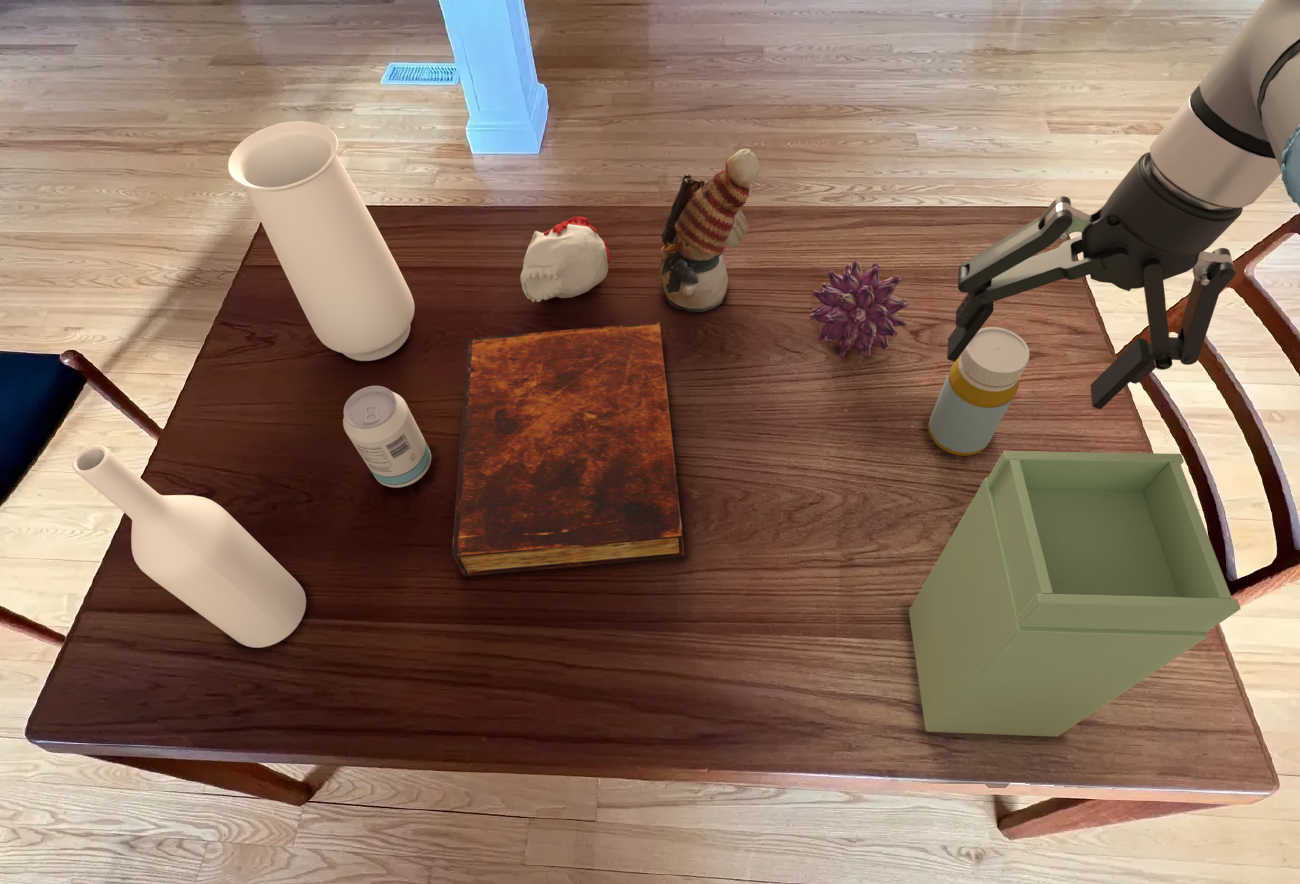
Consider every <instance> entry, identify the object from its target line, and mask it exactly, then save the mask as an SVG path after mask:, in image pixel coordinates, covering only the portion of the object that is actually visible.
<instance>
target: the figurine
mask: <svg viewBox="0 0 1300 884" xmlns="http://www.w3.org/2000/svg"><path fill="white" fill-rule="evenodd" d="M724 166H725V167H724V168H725V169H722V170H721V171H720V172H717V173H715V174H714V176H712V177H711V178H710V179H709V180H707V182H706V181H705V180H697V179H696V178H695V177H693V176H692V174H691V175H690V174H689V173H685V174H684V175H683V178H682V181H681V184H680V187H679V189H678V192H677V194H676V197H675V200H674V201H673V204H672V205H671V210H670V213H669V215H668V217H667V218H666V221H665V223H664V226H665V227H664V229H663V231H662V234H661V235H660V238H661V243H662V244H663V245H664V246H662V247H661V248H660V251H659V257H660V264H659V266H658V270H657V275H656V277H655V280H656V281H662V284H663V291H664V294H665V299H666V300H667V301H668V303H669V304H670V305H671V306H674V308H675V309H678V310H684V311H688V312H692V313H693V312H698V313H700V312H706V311H709V310H711V309H714V308H716V307H718V306H720V305H721V304H722V303H723V301H724V299H725V296H726V293H727V290H728V283H729V275H728V272H727V266H726V263H725V256H724V255H723V254H724V250H725V248H726V244H727V245H728V246H730V247H732V248H736V247H738V246H739V245H740V244H741V241H742V239H743V237H744V236H745V235H746V233H748V232H749V229H750V226H749V223H748V220H747V218H746V216H745V215H744V213H743V210H742V208H743V207H744V205H746V203H747V200H748V198H749V197H750V187H751V186H752V184H753V183H754V182H755V180H756V178H758V177H759V175H760V162H759V160H758V158H757V157H756V155H755V153H754V152H753V151H752V150H751V149H750V148H742V149H739V150H738V151H737V152H735V153H734V154H733V155H731V156H730V157H729V158H727V159H726V160H725V164H724Z"/></svg>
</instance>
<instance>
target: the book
mask: <svg viewBox="0 0 1300 884" xmlns="http://www.w3.org/2000/svg"><path fill="white" fill-rule="evenodd" d="M661 332H662V331H661V324H660V321H653V322H651V321H650V322H641V323H631V324H629V323H628V324H619V325H607V326H595V327H585V328H584V327H583V328H573V329H563V330H550V331H540V332H530V333H518V334H506V335H494V336H485V337H484V336H483V337H473V338H468V339H467V344H466V357H465V358H466V359H465V370H464V385H463V396H462V397H463V398H462V411H461V414H462V415H461V426H460V437H459V438H460V440H459V450H458V451H459V452H458V463H457V465H458V466H457V478H456V492H455V502H454V503H455V505H454V519H453V529H452V530H453V532H452V545H451V557H452V558H453V560H454V561H455V563H456V565H457V567H458V569H459V570H460V573H462V575H463V576H464V577H474V576H476V577H477V576H484V575H485V576H486V575H495V574H496V575H497V574H508V573H509V574H510V573H519V572H521V573H522V572H532V571H541V570H553V569H564V568H574V567H576V568H577V567H587V566H598V565H608V564H609V565H610V564H621V563H632V562H643V561H654V560H666V559H667V560H668V559H677V558H685V555H686V554H685V545H684V538H683V537H684V536H683V535H684V534H683V527H682V526H683V525H682V516H681V508H680V499H679V490H678V489H679V488H678V480H677V472H676V471H677V470H676V463H675V462H676V461H675V453H674V452H675V451H674V444H673V443H674V442H673V434H672V426H671V425H672V424H671V415H670V406H669V397H668V387H667V377H666V369H665V361H664V352H663V341H662V333H661Z"/></svg>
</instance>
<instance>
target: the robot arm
mask: <svg viewBox="0 0 1300 884" xmlns="http://www.w3.org/2000/svg"><path fill="white" fill-rule="evenodd" d="M1279 176H1281V181H1282V183H1283V184H1284V188H1285V189H1286V195H1288V197H1290V198H1291V201H1292V203H1295V204H1296V205H1297V206H1298V208H1299V209H1300V0H1263V1H1262V2H1261V3H1260V5H1259V7H1258V8H1257V9H1256V10H1255V11H1254V13H1253V14H1252V16H1250V18H1249V19H1248V20H1247V22H1246V23H1245V24H1244V26H1243V27H1242V29H1240V31H1239V32H1238V33H1237V35H1236V36H1235V37H1234V39H1233V40H1232V41H1231V43H1230V44H1229V45H1228V47H1227V48H1225V51H1224V52H1223V53H1222V54H1221V56H1219V58H1218V59H1217V60H1216V62H1215V63H1214V64H1213V66H1212V67H1211V68H1210V69H1209V71H1208V72H1207V73H1206V74H1205V76H1204V77H1203V78H1202V80H1201V82H1200V83H1199V84H1198V85H1197V86H1196V88H1195V89H1194V90H1193V92H1191V94H1190V95H1189V96H1188V97H1187V98H1186V100H1185V101H1184V102H1183V103H1182V104H1181V106H1180V107H1179V109H1178V110H1177V111H1176V112H1175V114H1173V116H1172V117H1171V119H1170V120H1168V122H1167V124H1166V125H1165V126H1164V127H1163V129H1162V130H1160V132H1159V134H1158V135H1157V136H1156V137H1155V138H1154V140H1152V142H1151V144H1150V147H1149V152H1148V151H1147V152H1146V153H1144V154H1142V155H1141V156H1140V157H1139V158H1138V160H1137V161H1136V162H1135V163H1134V164H1133V166H1132V167H1131V169H1130V170H1129V171H1128V172H1127V174H1126V175H1125V176H1124V177H1123V178H1122V179H1121V181H1120V182H1119V183H1118V185H1117V186H1116V187H1115V189H1114V190H1113V191H1112V192H1111V194H1110V196H1109V197H1108V199H1107V201H1106V202H1105V204H1104V205H1103V206H1102V207H1100V208H1099V209H1097V210H1096V211H1094V212H1092V213H1090V214H1088V213H1086V212H1084V211H1081V210H1079V209H1077V208H1076V207H1073V206H1072V203H1071V202H1072V201H1071V199H1070V197H1068V196H1063V195H1062V196H1058V197H1057V198H1055V199H1054V200H1053V201H1052V202H1051V204H1050V205H1048V207H1047V208H1045V210H1044V211H1043V212H1042V213H1041V215H1039V216H1038V217H1037V218H1035V219H1034V220H1032V221H1030V222H1029V223H1026V224H1024V225H1023V226H1022V227H1019V229H1017V230H1015V231H1014V232H1012V233H1010V234H1009V235H1007V236H1005V237H1004V238H1002V239H1000V240H999V241H997V242H995V243H994V244H992V245H991V246H989V247H987V248H985V249H984V250H982V251H980V252H979V253H977V254H976V255H974V256H972V257H971V258H969V259H968V260H966V261H964V262H963V263H961V264H959V266H958V272H957V273H958V274H957V289H958V291H959V292H960V293H965V294H966V296H965V297H964V298H963V300H962V302H961V303H960V304H959V306H958V307H957V309H956V312H955V328H954V329H953V331H952V333H951V334H950V335H949V337H948V338H947V351H946V360H949V361H951V362H953V363H954V362H955V361H956V360H957V359H958V358H960V356H961V354H962V352H963V351H964V349H965V348H966V347H967V345H968V344H969V343H970V341H971V340H972V339H973V337H974V336H975V335H976V334H977V332H978V331H979V330H980V329H982V328H983V326H984V325H985V323H986V322H987V321H988V319H989V318H990V316H991V315H992V314H993V313H994V302H997V301H1000V300H1004V299H1006V298H1009V297H1012V296H1015V295H1019V294H1022V293H1025V292H1027V291H1030V290H1034V289H1037V288H1040V287H1043V286H1045V285H1048V284H1051V283H1052V284H1053V283H1055V282H1057V281H1058V282H1059V281H1061V280H1064V279H1067V280H1068V281H1074V280H1077V279H1080V278H1083V277H1086V276H1090V280H1093V281H1096V282H1099V283H1107V284H1112V285H1114V286H1115V287H1117V288H1119V289H1121V290H1124V291H1125V292H1126V291H1127V292H1130V291H1131V290H1136V289H1142V288H1143V293H1144V298H1145V306H1146V315H1147V321H1148V322H1147V323H1148V330H1149V337H1150V338H1149V339H1150V342H1149V343H1148V340H1147V339H1145V338H1142V337H1137V338H1136V339H1135V340H1134V341H1133V342H1132V343H1131V344H1130V345H1129V346H1128V347H1127V348H1126V349H1125V350H1124V351H1123V352H1122V353H1121V354H1120V355H1119V356H1118V357H1116V359H1115V360H1114V361H1113V362H1112V363H1111V364H1110V365H1109V366H1108V367H1106V369H1105V370H1104V371H1102V373H1101V374H1100V375H1098V376H1097V378H1096V379H1095V380H1094V381H1093V382H1091V384H1090V396H1091V406H1092V408H1093V409H1094V408H1095V409H1097V410H1102V409H1103V408H1104V407H1105V406H1106V405H1107V404H1108V403H1109V402H1110V401H1112V399H1114V398H1115V397H1116V396H1117V395H1118V394H1119V393H1120V392H1121V391H1122V390H1123V389H1124V388H1126V386H1127V385H1129V384H1130V383H1132V384H1134V385H1136V384H1138V383H1141V382H1142V381H1143V380H1145V378H1147V377H1148V376H1149V375H1150V374H1151V373H1152V372H1153V371H1154V370H1156V369H1157V370H1162V371H1163V370H1168V369H1169V368H1171V367H1172V366H1173V361H1180V363H1181V364H1183V365H1185V366H1190V365H1194V364H1195V363H1197V362H1198V361H1199V358H1200V354H1201V352H1202V348H1203V345H1204V342H1205V339H1206V336H1207V333H1208V330H1209V327H1210V324H1211V321H1212V318H1213V315H1214V311H1215V309H1216V306H1217V302H1218V299H1219V296H1220V293H1222V292H1223V290H1224V289H1225V288H1226V287H1227V286H1228V284H1230V282H1231V281H1232V280H1233V279H1234V278H1235V276H1236V269H1235V266H1234V262H1233V258H1232V254H1231V251H1230V250H1229V249H1228V248H1226V247H1220V248H1216V249H1214V250H1213V251H1212V252H1209V251H1206V250H1207V249H1209V248H1210V247H1211V246H1212V245H1213V244H1214V243H1215V242H1216V241H1217V240H1218V239H1219V238H1220V237H1221V236H1222V234H1224V232H1225V231H1226V230H1227V229H1229V228H1230V227H1231V225H1232V224H1233V223H1234V222H1236V220H1237V219H1238V218H1239V217H1240V216H1241V215H1242V213H1243V208H1245V207H1248V206H1250V205H1253V204H1254V203H1255V202H1256V201H1257V199H1259V198H1260V197H1261V195H1263V194H1264V192H1265V191H1266V190H1267V189H1268V188H1269V187H1270V186H1271V185H1272V184H1273V183H1274V182H1275V181H1276V180H1277V179H1278V178H1279ZM1073 233H1081V235H1079V236H1075V237H1073V238H1069V239H1068V240H1067V238H1068V236H1069V235H1071V234H1073ZM1058 239H1059V240H1060V241H1061V240H1062V241H1063V240H1064V241H1063V242H1062V243H1061V244H1060V245H1059V246H1058V247H1057V248H1056V247H1055V248H1054V249H1050V250H1049V251H1048V250H1047V251H1045V252H1042V251H1043V250H1045V249H1047V248H1049V247H1050V246H1052V245H1053V244H1054V243H1055V242H1056V241H1058ZM1040 252H1042V253H1040ZM1039 253H1040V254H1039ZM1081 253H1082V259H1079V260H1077V256H1078V255H1080V254H1081ZM1190 270H1192V274H1193V281H1192V285H1191V289H1190V292H1189V295H1188V298H1187V302H1186V306H1185V309H1184V313H1183V316H1182V320H1181V323H1180V327H1179V330H1178V333H1177V337H1175V336H1170V332H1169V324H1168V323H1169V321H1168V316H1167V315H1168V313H1167V306H1166V305H1167V304H1166V295H1165V284H1164V280H1165V281H1166V280H1168V279H1171V278H1173V277H1177V276H1179V275H1182V274H1184V273H1187V272H1189V271H1190Z"/></svg>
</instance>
